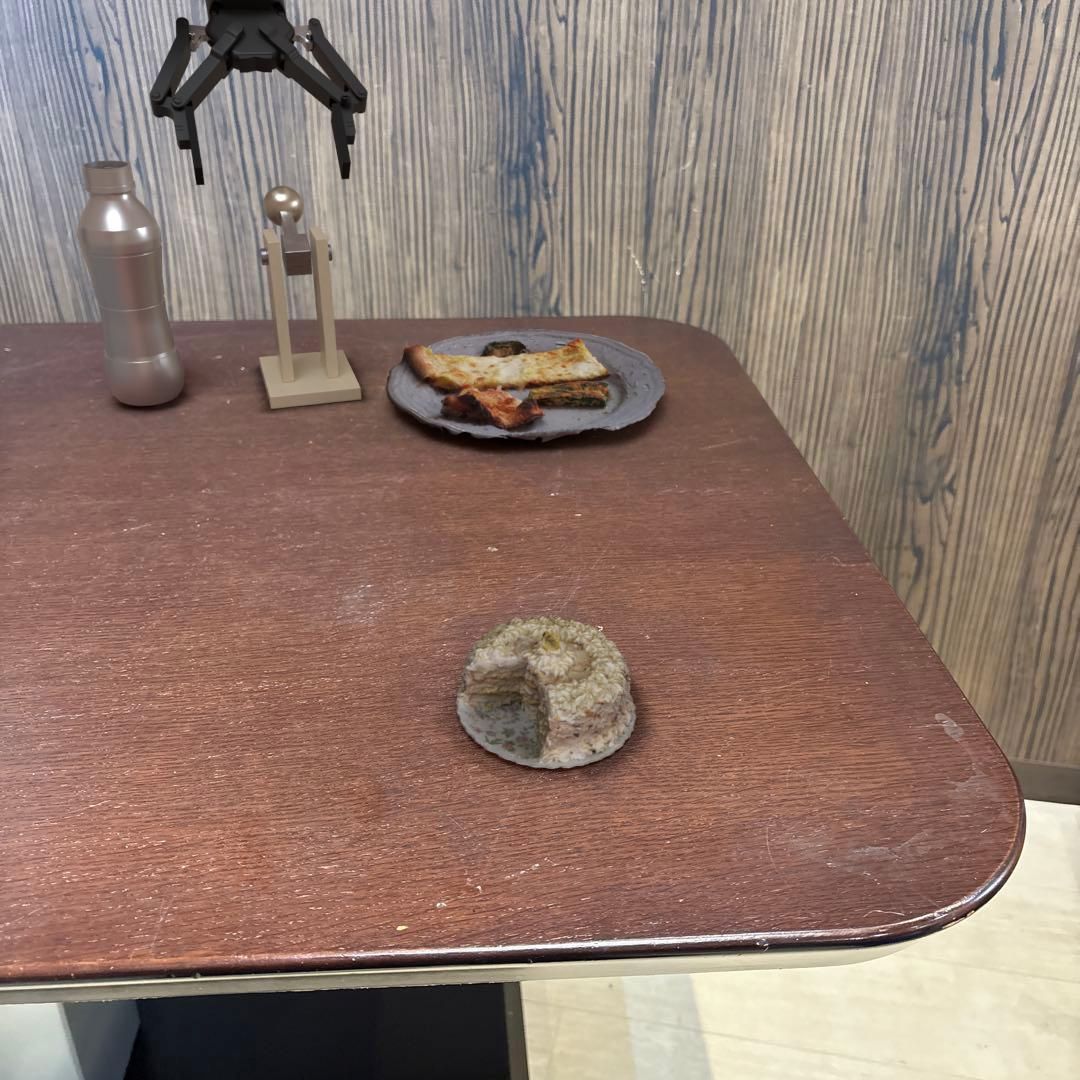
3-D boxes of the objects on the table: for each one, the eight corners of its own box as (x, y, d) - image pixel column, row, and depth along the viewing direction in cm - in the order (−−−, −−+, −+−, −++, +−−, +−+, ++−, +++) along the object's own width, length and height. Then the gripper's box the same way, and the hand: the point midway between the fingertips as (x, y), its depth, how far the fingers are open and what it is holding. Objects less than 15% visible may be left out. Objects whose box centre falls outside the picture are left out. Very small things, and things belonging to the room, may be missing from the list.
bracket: (260, 368, 97) (241, 222, 90) (343, 360, 99) (332, 217, 92) (271, 409, 89) (251, 252, 81) (361, 399, 91) (350, 245, 84)
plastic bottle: (152, 380, 93) (110, 153, 83) (204, 396, 91) (168, 163, 80) (94, 403, 89) (42, 165, 78) (147, 421, 86) (100, 177, 75)
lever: (262, 214, 94) (259, 178, 92) (301, 212, 95) (299, 177, 93) (279, 283, 88) (275, 246, 85) (320, 280, 89) (319, 244, 86)
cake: (524, 640, 61) (531, 563, 59) (668, 707, 57) (682, 626, 54) (416, 717, 54) (419, 633, 51) (571, 801, 49) (583, 713, 47)
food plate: (396, 464, 80) (394, 424, 78) (378, 359, 99) (376, 325, 98) (695, 444, 84) (700, 406, 83) (622, 347, 104) (625, 314, 102)
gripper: (364, 14, 107) (399, 190, 102) (113, 12, 100) (139, 202, 95) (370, -43, 100) (408, 144, 95) (101, -48, 93) (128, 153, 88)
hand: (274, 174), depth 95 cm, fingers open, 13 cm apart
